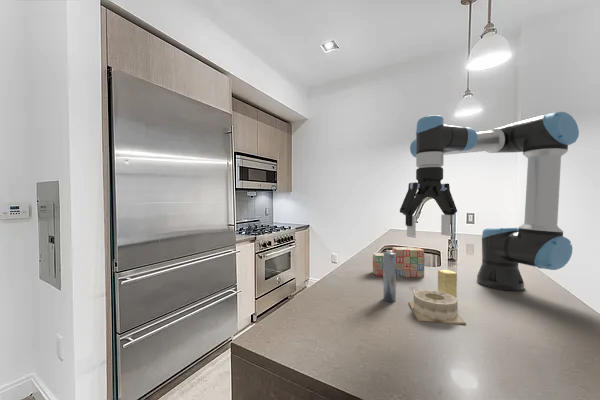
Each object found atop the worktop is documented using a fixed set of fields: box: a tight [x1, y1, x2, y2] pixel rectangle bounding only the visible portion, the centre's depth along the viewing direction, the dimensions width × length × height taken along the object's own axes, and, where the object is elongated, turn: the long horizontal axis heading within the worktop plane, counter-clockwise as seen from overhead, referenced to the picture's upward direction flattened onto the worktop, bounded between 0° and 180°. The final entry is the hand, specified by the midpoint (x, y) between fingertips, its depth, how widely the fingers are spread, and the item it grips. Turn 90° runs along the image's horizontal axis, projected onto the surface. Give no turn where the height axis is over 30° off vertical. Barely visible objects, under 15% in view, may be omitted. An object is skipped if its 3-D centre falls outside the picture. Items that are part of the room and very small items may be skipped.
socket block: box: [408, 289, 467, 326], centre depth 78 cm, size 12×12×5 cm
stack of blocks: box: [372, 246, 426, 278], centre depth 118 cm, size 21×6×12 cm, turn 85°
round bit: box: [382, 251, 397, 303], centre depth 89 cm, size 4×4×16 cm
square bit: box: [437, 269, 458, 300], centre depth 88 cm, size 4×4×10 cm
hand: (428, 236), depth 80 cm, fingers open, 13 cm apart
